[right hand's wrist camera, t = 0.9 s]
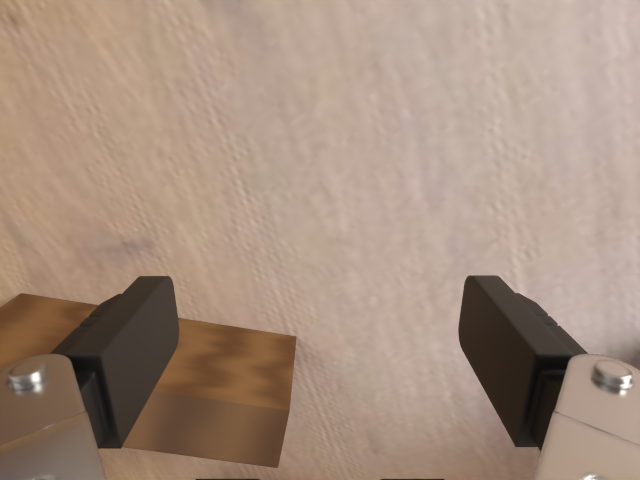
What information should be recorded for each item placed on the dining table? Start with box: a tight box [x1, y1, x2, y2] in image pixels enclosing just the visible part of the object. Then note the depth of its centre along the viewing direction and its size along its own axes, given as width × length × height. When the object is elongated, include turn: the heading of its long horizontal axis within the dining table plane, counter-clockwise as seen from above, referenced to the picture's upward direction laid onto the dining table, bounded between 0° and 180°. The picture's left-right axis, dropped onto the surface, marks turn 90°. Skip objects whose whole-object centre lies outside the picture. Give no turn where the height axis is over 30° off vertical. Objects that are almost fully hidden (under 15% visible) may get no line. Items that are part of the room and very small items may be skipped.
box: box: [0, 293, 296, 468], centre depth 35 cm, size 26×6×10 cm, turn 79°
